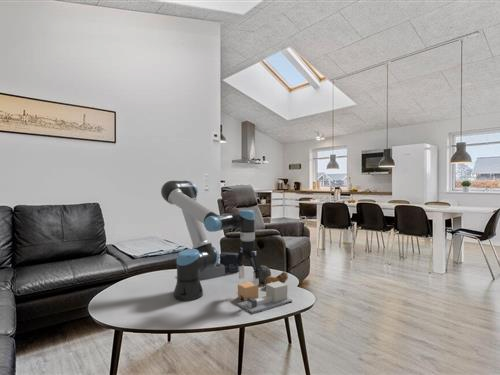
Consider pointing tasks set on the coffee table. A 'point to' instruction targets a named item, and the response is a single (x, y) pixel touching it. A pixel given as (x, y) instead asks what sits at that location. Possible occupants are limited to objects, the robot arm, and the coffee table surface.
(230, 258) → the small box
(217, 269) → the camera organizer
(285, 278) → the lion figurine
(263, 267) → the decorative ball
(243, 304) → the rail board
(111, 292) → the coffee table surface
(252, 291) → the block
